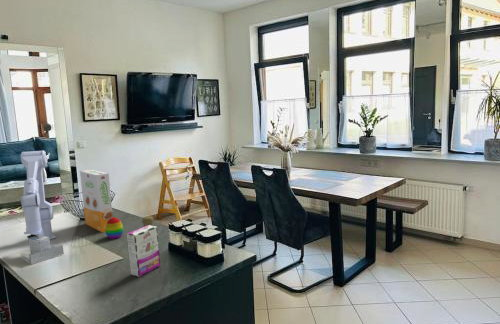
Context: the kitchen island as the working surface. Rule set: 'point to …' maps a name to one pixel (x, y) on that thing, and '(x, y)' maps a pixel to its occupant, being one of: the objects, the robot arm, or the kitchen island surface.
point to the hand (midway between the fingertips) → (36, 250)
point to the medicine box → (38, 244)
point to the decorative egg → (114, 228)
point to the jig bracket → (43, 254)
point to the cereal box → (96, 198)
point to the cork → (147, 221)
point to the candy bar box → (143, 250)
